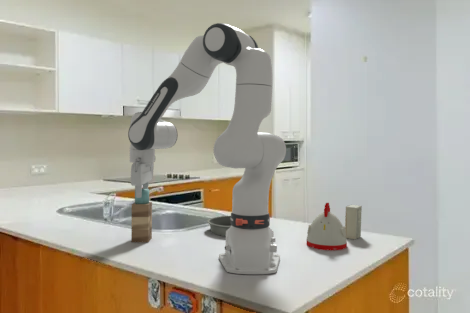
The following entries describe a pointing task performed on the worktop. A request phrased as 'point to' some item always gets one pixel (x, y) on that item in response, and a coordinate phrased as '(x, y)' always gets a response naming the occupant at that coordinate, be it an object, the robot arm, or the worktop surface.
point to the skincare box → (353, 221)
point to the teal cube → (143, 197)
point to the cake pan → (220, 225)
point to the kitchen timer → (326, 232)
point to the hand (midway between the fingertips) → (142, 195)
